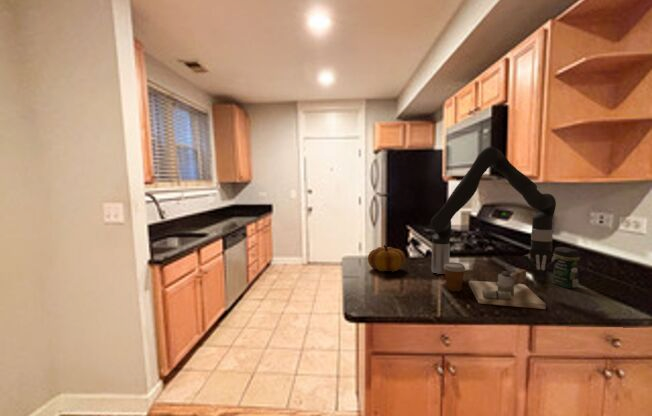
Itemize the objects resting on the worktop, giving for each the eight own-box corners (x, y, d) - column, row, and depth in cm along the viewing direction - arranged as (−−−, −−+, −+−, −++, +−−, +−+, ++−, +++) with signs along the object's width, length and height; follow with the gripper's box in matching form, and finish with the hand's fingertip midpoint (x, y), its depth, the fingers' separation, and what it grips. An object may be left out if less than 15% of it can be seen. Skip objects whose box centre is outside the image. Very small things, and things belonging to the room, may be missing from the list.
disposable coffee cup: (463, 286, 143) (464, 262, 142) (466, 293, 134) (466, 268, 133) (442, 285, 146) (443, 261, 145) (443, 291, 137) (444, 266, 137)
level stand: (478, 303, 124) (479, 291, 123) (468, 284, 147) (469, 274, 146) (545, 309, 117) (546, 296, 116) (524, 288, 140) (524, 277, 139)
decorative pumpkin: (384, 277, 160) (384, 250, 159) (361, 267, 179) (361, 243, 178) (412, 271, 169) (412, 246, 168) (387, 263, 189) (387, 240, 188)
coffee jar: (548, 282, 147) (550, 246, 145) (562, 281, 148) (564, 245, 146) (567, 289, 137) (569, 250, 136) (581, 288, 138) (583, 249, 137)
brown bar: (509, 297, 124) (510, 275, 123) (495, 293, 129) (495, 271, 128) (530, 287, 134) (530, 267, 133) (515, 284, 139) (516, 264, 138)
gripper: (522, 239, 130) (522, 277, 131) (561, 241, 122) (559, 282, 123) (523, 236, 136) (523, 273, 137) (560, 239, 128) (559, 277, 129)
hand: (540, 277), depth 130 cm, fingers closed
